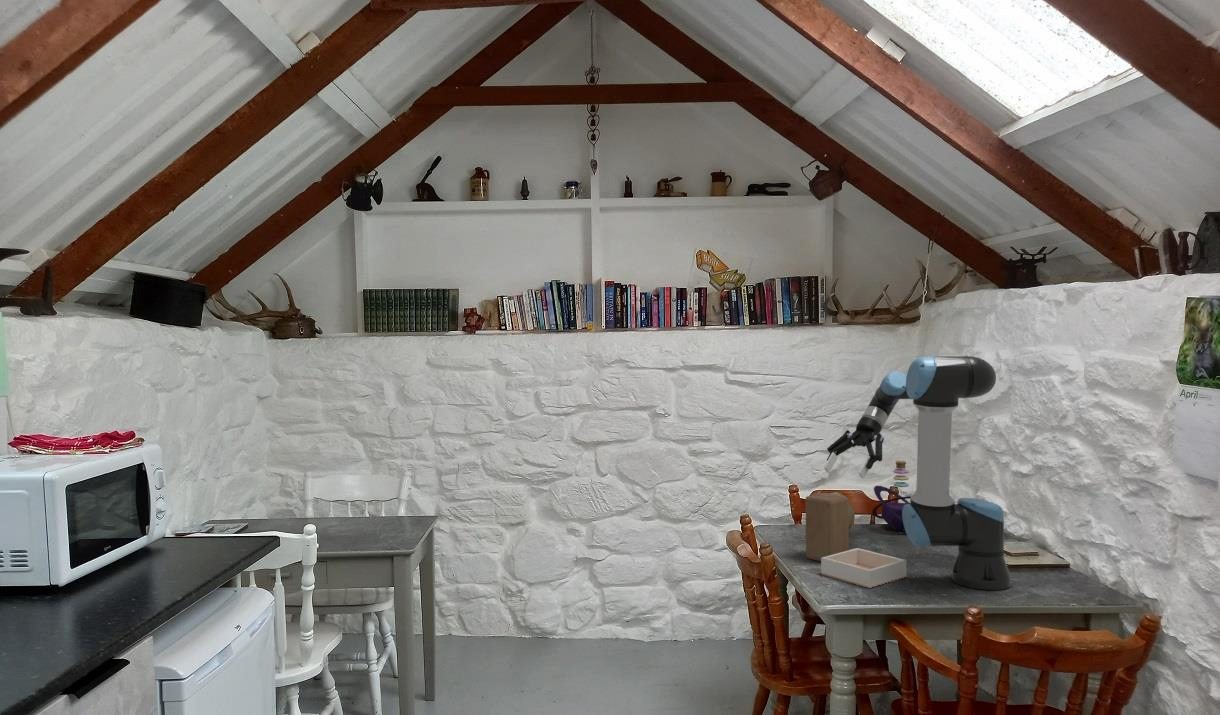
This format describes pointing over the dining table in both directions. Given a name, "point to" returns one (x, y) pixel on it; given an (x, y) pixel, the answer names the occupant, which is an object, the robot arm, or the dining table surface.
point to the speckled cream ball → (850, 511)
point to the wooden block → (826, 525)
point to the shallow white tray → (863, 567)
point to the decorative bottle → (893, 509)
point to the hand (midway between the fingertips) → (843, 472)
